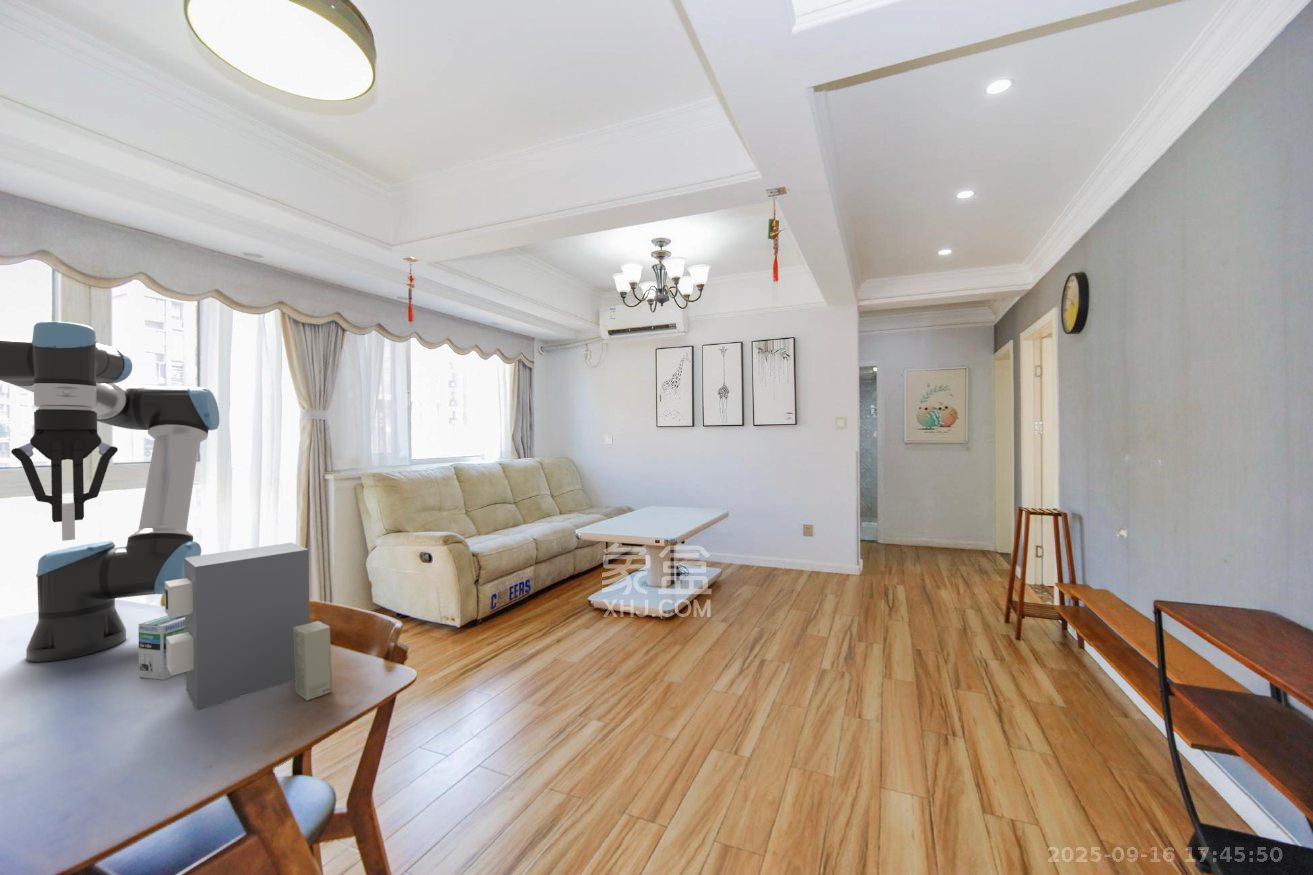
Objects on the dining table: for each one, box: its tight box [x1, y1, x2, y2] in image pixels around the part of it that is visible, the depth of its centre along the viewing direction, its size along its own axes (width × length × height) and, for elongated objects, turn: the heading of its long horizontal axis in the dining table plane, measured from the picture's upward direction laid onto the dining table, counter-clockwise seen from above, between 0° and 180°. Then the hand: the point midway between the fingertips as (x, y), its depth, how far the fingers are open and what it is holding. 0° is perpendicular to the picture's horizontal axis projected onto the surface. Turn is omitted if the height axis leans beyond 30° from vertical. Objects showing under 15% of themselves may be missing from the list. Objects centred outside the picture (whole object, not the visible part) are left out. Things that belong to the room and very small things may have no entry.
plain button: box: [166, 632, 194, 676], centre depth 93 cm, size 5×6×5 cm
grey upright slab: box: [184, 542, 311, 711], centre depth 100 cm, size 11×17×25 cm, turn 140°
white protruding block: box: [164, 578, 193, 618], centre depth 93 cm, size 5×6×5 cm
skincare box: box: [293, 620, 333, 701], centre depth 96 cm, size 6×4×12 cm
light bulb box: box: [138, 614, 185, 681], centre depth 107 cm, size 11×7×11 cm, turn 168°
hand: (68, 539), depth 94 cm, fingers closed
